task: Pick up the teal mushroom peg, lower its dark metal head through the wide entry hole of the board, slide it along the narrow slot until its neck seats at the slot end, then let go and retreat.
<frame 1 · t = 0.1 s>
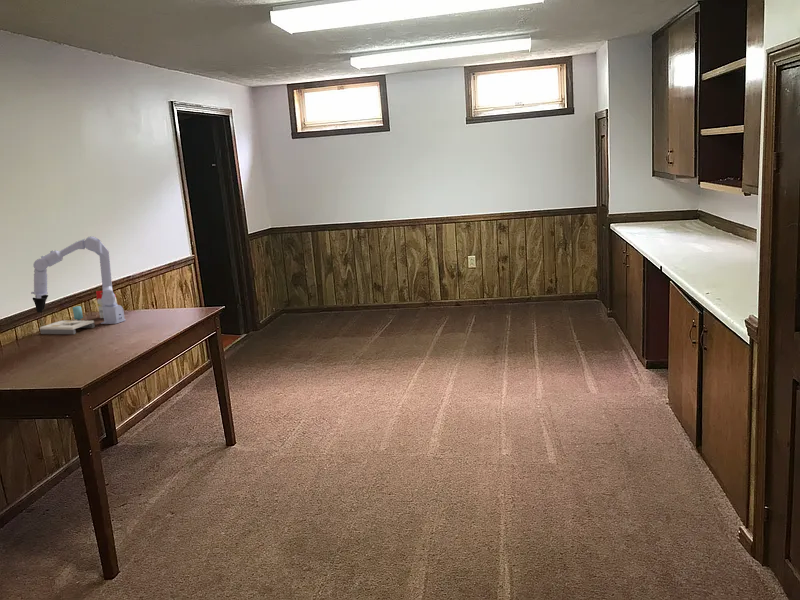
hand: (40, 310, 335), 11 cm above the table, tool pointing down, fingers open, 7 cm apart
board: (68, 330, 336), on the table
peg: (79, 325, 347), on the table
ink box: (109, 317, 363), on the table
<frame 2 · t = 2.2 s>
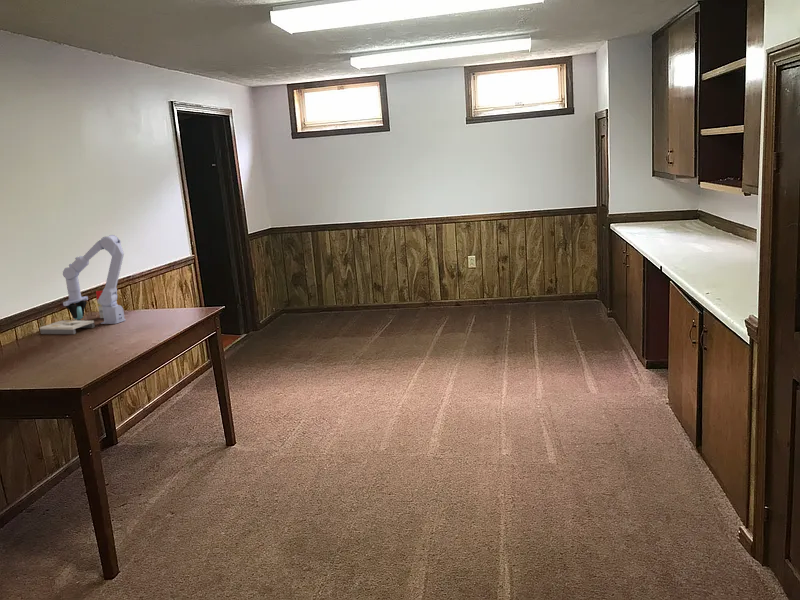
hand: (78, 316, 346), 4 cm above the table, tool pointing down, fingers closed on peg, 4 cm apart
peg: (79, 325, 347), on the table, touching gripper
everything else where it was.
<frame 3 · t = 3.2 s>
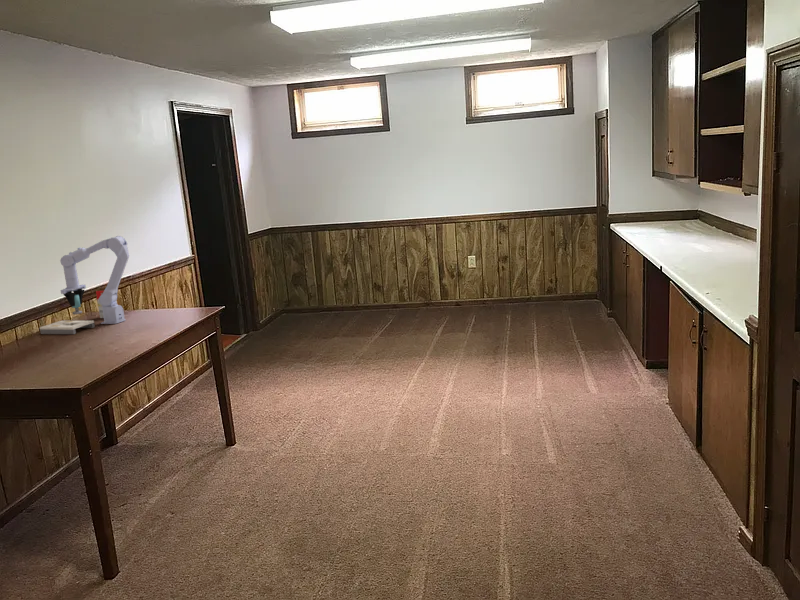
hand: (76, 305, 345), 10 cm above the table, tool pointing down, fingers closed on peg, 4 cm apart
peg: (77, 313, 346), point 6 cm above the table, touching gripper
everything else where it was.
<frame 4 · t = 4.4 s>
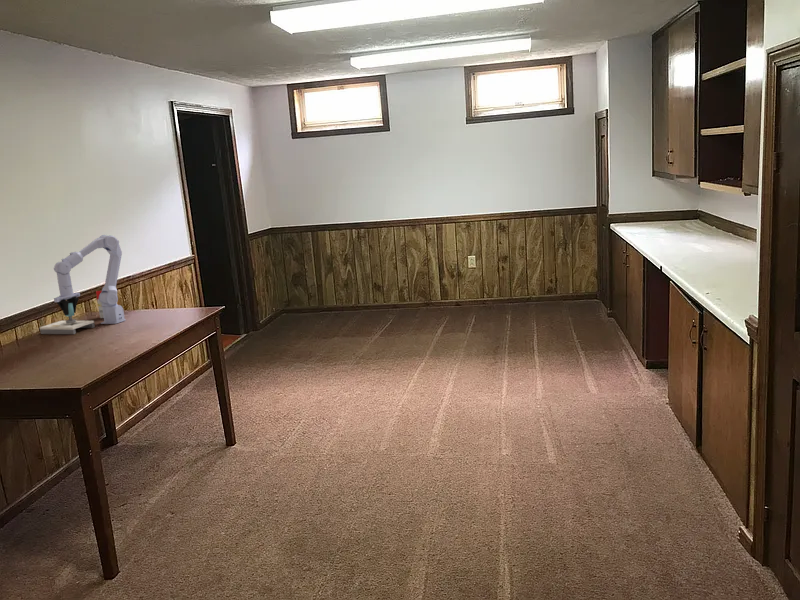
hand: (70, 313, 334), 8 cm above the table, tool pointing down, fingers closed on peg, 4 cm apart
peg: (71, 322, 334), point 4 cm above the table, touching gripper
everything else where it was.
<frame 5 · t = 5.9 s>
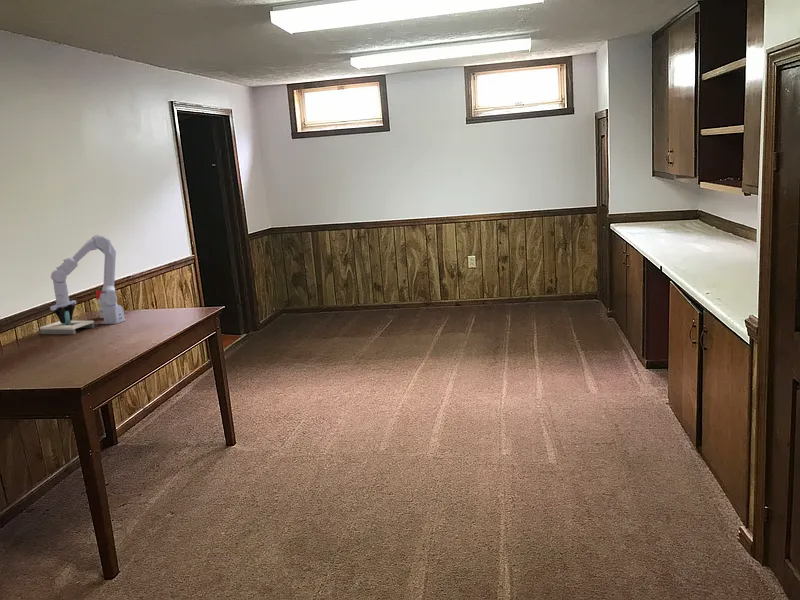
hand: (66, 321, 335), 4 cm above the table, tool pointing down, fingers closed on peg, 4 cm apart
peg: (67, 330, 336), on the table, touching gripper
everything else where it was.
when the fingers open (4 cm above the table, at t = 7.0 s): peg stays where it is, on the table.
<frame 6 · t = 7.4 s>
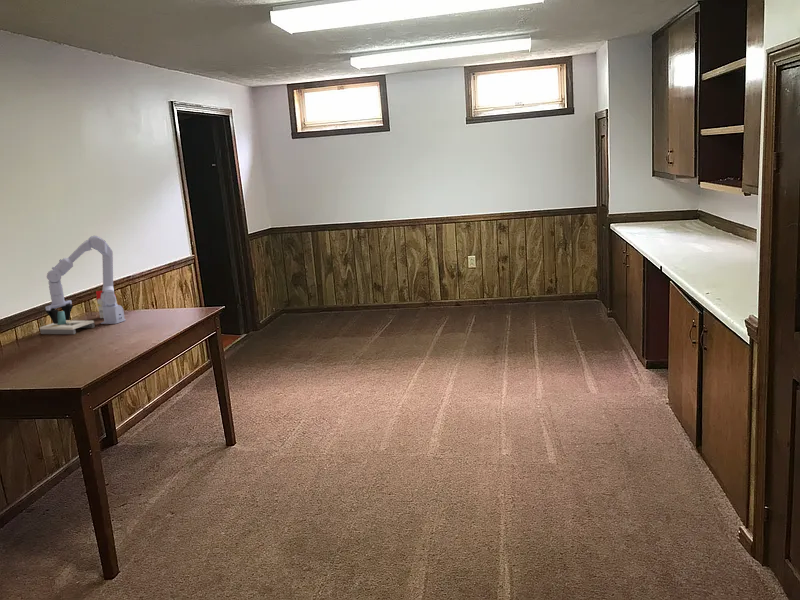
hand: (61, 321, 336), 4 cm above the table, tool pointing down, fingers open, 7 cm apart
peg: (63, 330, 337), on the table
everything else where it was.
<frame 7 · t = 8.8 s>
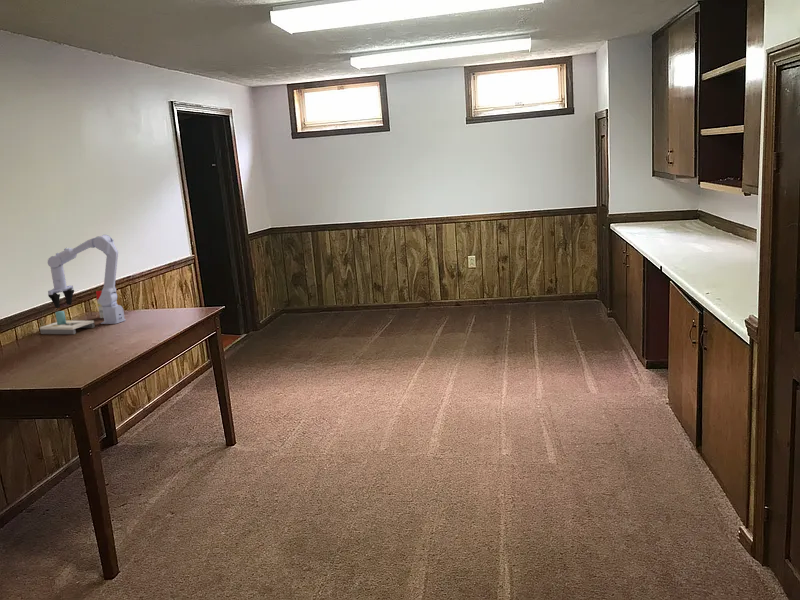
hand: (63, 306, 345), 10 cm above the table, tool pointing down, fingers open, 7 cm apart
nothing on the table moved.
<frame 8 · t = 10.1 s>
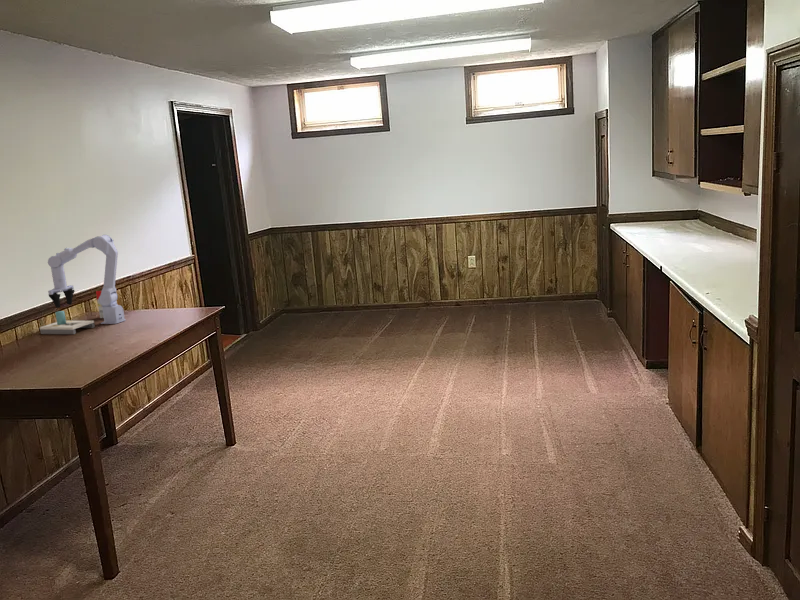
hand: (64, 305, 345), 10 cm above the table, tool pointing down, fingers open, 7 cm apart
nothing on the table moved.
at the end: peg 0.3 cm from the target spot on the board, point 0.0 cm above the board's base; the gripper is holding nothing; peg tilted 0° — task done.
